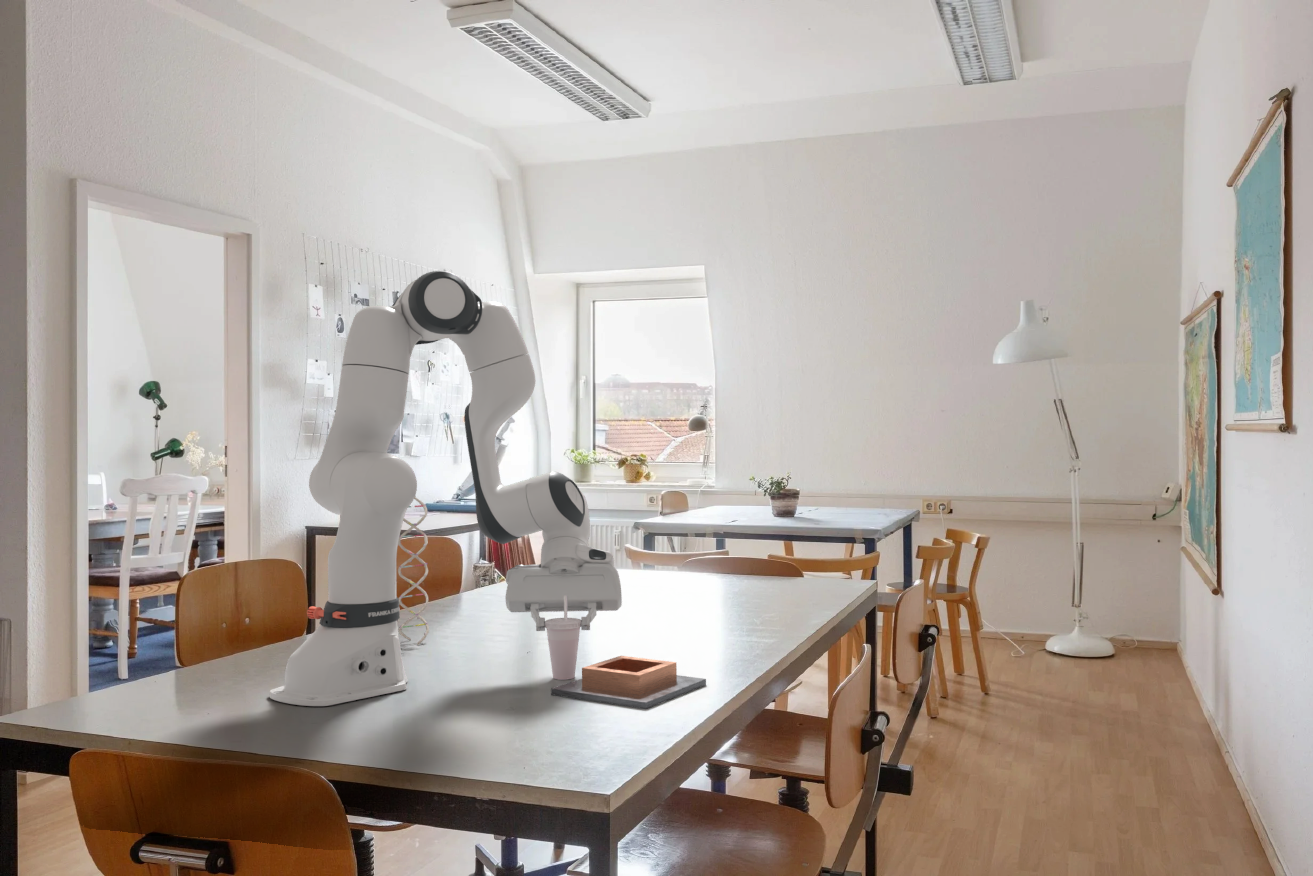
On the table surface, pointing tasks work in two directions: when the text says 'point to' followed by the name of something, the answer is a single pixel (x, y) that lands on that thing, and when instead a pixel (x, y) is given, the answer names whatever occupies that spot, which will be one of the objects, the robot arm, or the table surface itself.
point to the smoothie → (563, 644)
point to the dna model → (410, 580)
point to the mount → (629, 682)
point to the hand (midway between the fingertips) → (563, 628)
